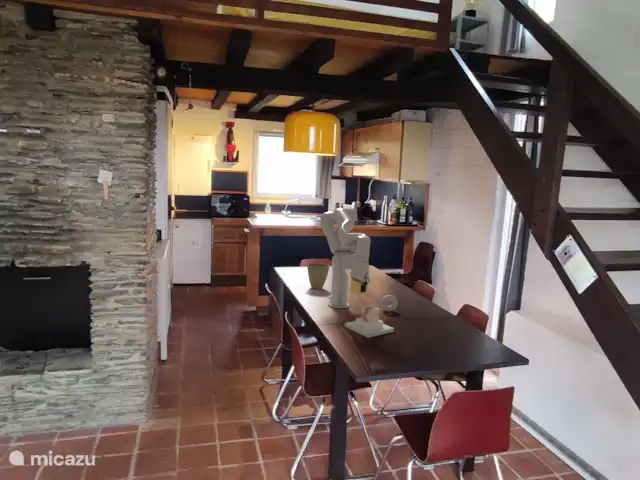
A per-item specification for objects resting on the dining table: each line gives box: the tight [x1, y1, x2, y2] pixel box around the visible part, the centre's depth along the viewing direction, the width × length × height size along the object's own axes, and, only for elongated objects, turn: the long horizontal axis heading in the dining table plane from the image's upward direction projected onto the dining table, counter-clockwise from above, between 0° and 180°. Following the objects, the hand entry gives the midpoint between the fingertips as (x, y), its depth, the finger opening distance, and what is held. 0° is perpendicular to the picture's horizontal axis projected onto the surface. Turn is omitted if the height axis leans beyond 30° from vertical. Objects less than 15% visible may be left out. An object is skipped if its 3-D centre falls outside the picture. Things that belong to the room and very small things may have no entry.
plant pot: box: [307, 262, 330, 290], centre depth 326 cm, size 15×15×16 cm
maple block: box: [360, 304, 380, 323], centre depth 251 cm, size 6×6×6 cm
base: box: [344, 317, 395, 338], centre depth 251 cm, size 18×18×5 cm
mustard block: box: [349, 279, 369, 295], centre depth 266 cm, size 6×6×6 cm
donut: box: [380, 294, 398, 312], centre depth 284 cm, size 10×4×10 cm, turn 98°
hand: (358, 289), depth 266 cm, fingers closed on mustard block, 6 cm apart
